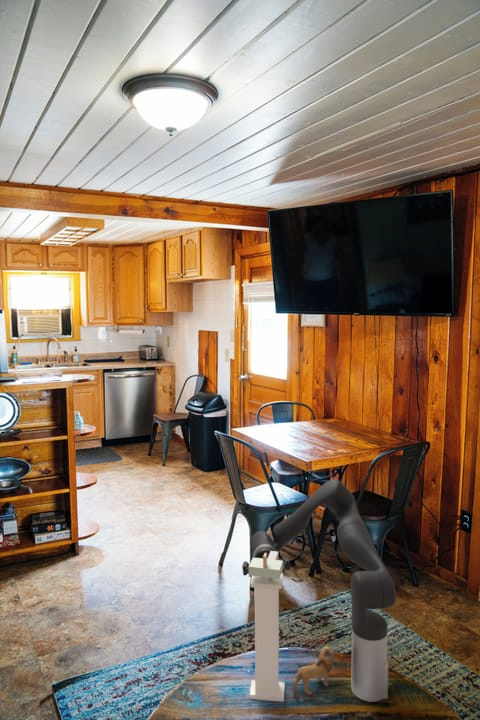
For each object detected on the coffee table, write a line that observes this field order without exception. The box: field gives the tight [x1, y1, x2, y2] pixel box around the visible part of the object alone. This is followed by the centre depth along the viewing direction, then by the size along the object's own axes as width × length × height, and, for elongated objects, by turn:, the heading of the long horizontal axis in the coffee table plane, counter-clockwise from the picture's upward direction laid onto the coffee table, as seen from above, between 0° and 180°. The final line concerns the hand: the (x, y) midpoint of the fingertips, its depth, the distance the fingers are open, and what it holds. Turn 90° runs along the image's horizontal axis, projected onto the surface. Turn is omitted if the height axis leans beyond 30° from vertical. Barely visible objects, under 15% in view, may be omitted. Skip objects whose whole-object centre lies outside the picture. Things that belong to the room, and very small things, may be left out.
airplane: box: [248, 551, 283, 583], centre depth 146 cm, size 8×14×7 cm, turn 166°
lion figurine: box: [292, 645, 335, 698], centre depth 148 cm, size 15×5×9 cm, turn 129°
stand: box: [249, 573, 286, 703], centre depth 144 cm, size 9×6×32 cm, turn 83°
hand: (266, 572), depth 158 cm, fingers open, 8 cm apart
